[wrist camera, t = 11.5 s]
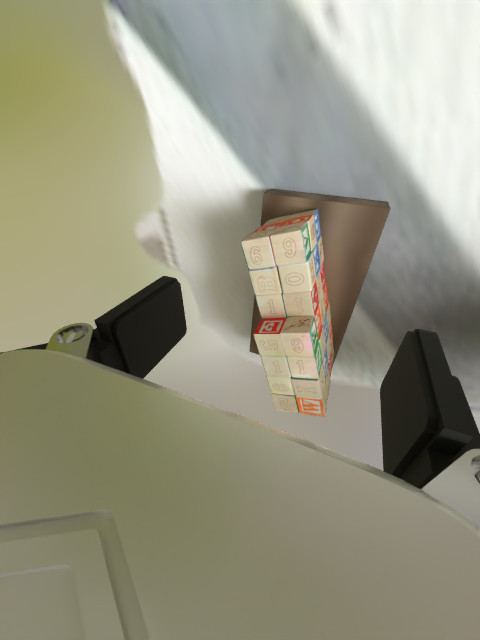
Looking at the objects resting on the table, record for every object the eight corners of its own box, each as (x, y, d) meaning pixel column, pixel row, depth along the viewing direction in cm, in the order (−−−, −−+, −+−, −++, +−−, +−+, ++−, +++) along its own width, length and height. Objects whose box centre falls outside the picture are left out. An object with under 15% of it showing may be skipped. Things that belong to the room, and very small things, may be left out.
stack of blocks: (267, 218, 32) (227, 250, 23) (318, 207, 29) (296, 238, 20) (295, 352, 42) (274, 412, 33) (335, 353, 39) (325, 419, 30)
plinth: (387, 201, 30) (390, 208, 27) (331, 360, 45) (328, 376, 42) (272, 188, 34) (263, 193, 31) (256, 338, 49) (249, 351, 46)
